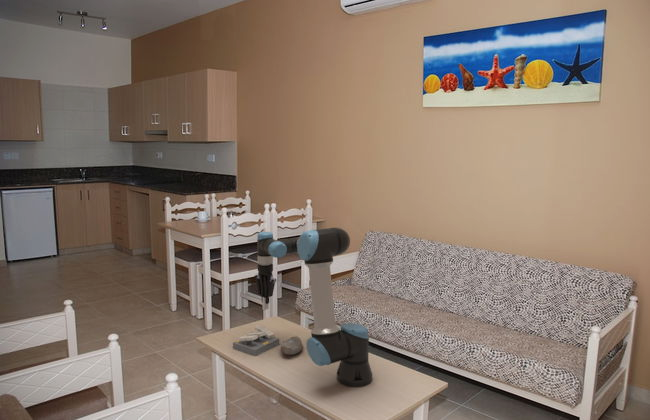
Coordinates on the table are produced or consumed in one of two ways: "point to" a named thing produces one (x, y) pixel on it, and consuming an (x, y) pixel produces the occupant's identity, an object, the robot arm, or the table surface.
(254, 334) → the rocker
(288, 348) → the seashell
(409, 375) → the table surface
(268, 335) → the rocker
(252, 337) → the plate
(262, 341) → the switch unit
